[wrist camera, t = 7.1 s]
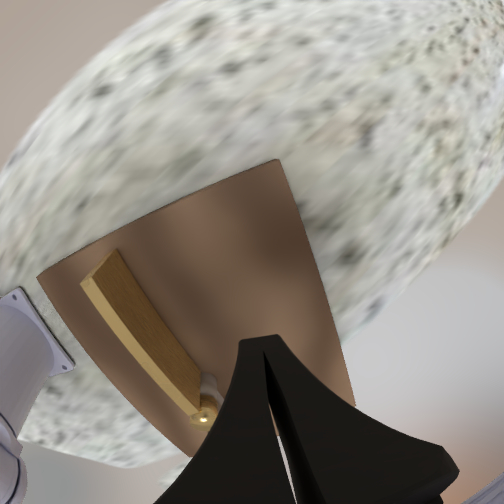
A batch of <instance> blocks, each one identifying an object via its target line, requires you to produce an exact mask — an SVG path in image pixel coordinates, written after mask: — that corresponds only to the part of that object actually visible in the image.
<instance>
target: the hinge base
mask: <svg viewBox="0 0 504 504" xmlns="http://www.w3.org/2000/svg"><path fill="white" fill-rule="evenodd" d="M114 249H117V251H118V253H119V254H120V256H121V258H122V259H123V261H124V262H125V264H126V266H127V267H128V269H129V271H130V272H131V274H132V275H133V277H134V278H135V280H136V282H137V283H138V285H139V286H140V288H141V289H142V291H143V292H144V294H145V295H146V297H147V298H148V300H149V301H150V303H151V304H152V306H153V307H154V309H155V310H156V312H157V313H158V314H159V316H160V317H161V319H162V320H163V322H164V323H165V324H166V326H167V327H168V329H169V330H170V331H171V333H172V334H173V335H174V337H175V338H176V339H177V341H178V342H179V344H180V345H181V346H182V348H183V349H184V350H185V351H186V353H187V354H188V355H189V357H190V358H191V359H192V361H193V362H194V363H195V364H196V366H197V367H198V368H199V369H200V371H201V378H200V395H208V396H211V397H213V398H215V399H216V400H217V403H218V413H219V411H220V409H221V406H222V404H223V401H224V399H225V396H226V394H227V391H228V388H229V386H230V383H231V379H232V376H233V372H234V369H235V365H236V360H237V355H238V342H239V341H240V340H241V339H248V338H254V337H261V336H267V335H274V334H278V335H280V336H281V338H282V339H283V340H284V342H285V343H286V345H287V346H288V347H289V348H290V350H291V351H292V352H293V353H294V354H295V356H296V357H297V358H298V359H299V360H300V361H301V362H302V363H303V364H304V365H305V366H306V367H307V368H308V369H309V370H310V372H311V373H312V374H313V375H315V376H316V377H317V378H318V379H319V380H320V381H321V382H322V383H323V384H324V385H326V386H327V387H328V388H329V389H330V390H331V391H333V392H334V393H335V394H336V395H338V396H339V397H340V398H342V399H343V400H344V401H346V402H347V403H349V404H350V405H352V406H353V407H355V406H356V404H355V400H354V395H353V391H352V387H351V384H350V379H349V375H348V372H347V368H346V364H345V360H344V357H343V353H342V349H341V346H340V342H339V338H338V335H337V331H336V328H335V324H334V321H333V317H332V314H331V311H330V307H329V304H328V301H327V297H326V294H325V291H324V288H323V284H322V281H321V278H320V275H319V272H318V269H317V265H316V262H315V259H314V256H313V253H312V250H311V247H310V244H309V241H308V238H307V235H306V232H305V229H304V226H303V224H302V221H301V218H300V215H299V212H298V209H297V206H296V204H295V201H294V198H293V195H292V193H291V190H290V187H289V184H288V182H287V179H286V176H285V174H284V171H283V168H282V166H281V163H280V161H279V160H278V159H274V160H272V161H269V162H266V163H264V164H261V165H259V166H256V167H254V168H251V169H249V170H246V171H244V172H241V173H239V174H236V175H234V176H231V177H229V178H227V179H224V180H222V181H220V182H217V183H215V184H213V185H210V186H208V187H206V188H203V189H201V190H199V191H197V192H194V193H192V194H190V195H188V196H185V197H183V198H181V199H179V200H177V201H175V202H172V203H170V204H168V205H166V206H164V207H162V208H160V209H158V210H156V211H153V212H151V213H149V214H147V215H145V216H143V217H141V218H139V219H137V220H135V221H133V222H131V223H129V224H127V225H125V226H123V227H121V228H119V229H118V230H116V231H114V232H112V233H110V234H108V235H106V236H104V237H102V238H100V239H99V240H97V241H95V242H93V243H91V244H89V245H88V246H86V247H84V248H82V249H80V250H79V251H77V252H75V253H73V254H72V255H70V256H68V257H66V258H65V259H63V260H61V261H59V262H58V263H56V264H54V265H53V266H51V267H49V268H48V269H46V270H44V271H43V272H42V273H40V274H39V275H38V276H37V277H36V278H37V280H38V281H39V283H40V285H41V287H42V288H43V290H44V292H45V293H46V295H47V296H48V298H49V300H50V301H51V303H52V304H53V306H54V307H55V309H56V310H57V312H58V313H59V315H60V316H61V318H62V319H63V321H64V322H65V324H66V325H67V327H68V328H69V329H70V331H71V332H72V334H73V335H74V336H75V338H76V339H77V340H78V342H79V343H80V344H81V346H82V347H83V348H84V350H85V351H86V352H87V354H88V355H89V356H90V357H91V359H92V360H93V361H94V362H95V364H96V365H97V366H98V367H99V368H100V370H101V371H102V372H103V373H104V374H105V375H106V377H107V378H108V379H109V380H110V381H111V382H112V384H113V385H114V386H115V387H116V388H117V389H118V390H119V391H120V392H121V393H122V395H123V396H124V397H125V398H126V399H127V400H128V401H129V402H130V403H131V404H132V405H133V406H134V407H135V408H136V409H137V410H138V411H139V412H140V413H141V414H142V415H143V416H144V417H145V418H146V419H147V420H148V421H149V422H150V423H151V424H152V425H153V426H154V427H155V428H156V429H157V430H159V431H160V432H161V433H162V434H163V435H164V436H165V437H166V438H167V439H168V440H170V441H171V442H172V443H173V444H174V445H175V446H177V447H178V448H179V449H180V450H181V451H182V452H184V453H185V454H186V455H187V456H189V457H194V455H195V454H196V452H197V451H198V449H199V448H200V446H201V444H202V443H203V441H204V439H205V438H206V436H207V434H208V433H209V431H199V430H196V429H194V428H192V427H191V425H190V415H189V416H188V415H187V414H186V413H185V412H184V411H183V410H182V409H181V408H180V407H179V406H178V405H177V404H176V403H175V402H174V401H173V400H172V399H171V398H170V397H169V396H168V395H167V394H166V392H165V391H164V390H163V389H162V388H161V387H160V386H159V385H158V384H157V383H156V382H155V381H154V380H153V378H152V377H151V376H150V375H149V374H148V373H147V372H146V371H145V369H144V368H143V367H142V366H141V365H140V364H139V362H138V361H137V360H136V359H135V358H134V357H133V355H132V354H131V353H130V352H129V350H128V349H127V348H126V347H125V346H124V344H123V343H122V342H121V341H120V339H119V338H118V337H117V335H116V334H115V333H114V332H113V330H112V329H111V328H110V326H109V325H108V324H107V322H106V321H105V320H104V318H103V317H102V315H101V314H100V313H99V311H98V310H97V309H96V307H95V306H94V304H93V303H92V301H91V300H90V298H89V297H88V296H87V294H86V293H85V291H84V290H83V288H82V287H81V285H80V283H81V282H82V281H83V279H84V278H85V277H86V276H87V275H88V274H89V272H90V271H91V270H92V269H93V268H94V267H95V266H96V265H97V263H98V262H99V261H100V260H101V259H102V258H103V257H104V256H105V255H106V254H107V253H109V252H111V251H113V250H114ZM269 407H270V405H269ZM270 411H271V409H270ZM271 415H272V412H271ZM272 419H273V423H274V427H275V431H276V435H277V436H279V433H278V430H277V427H276V424H275V421H274V418H273V415H272Z"/></svg>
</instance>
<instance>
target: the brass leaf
mask: <svg viewBox="0 0 504 504" xmlns="http://www.w3.org/2000/svg"><path fill="white" fill-rule="evenodd" d="M80 285H81V287H82V288H83V290H84V291H85V293H86V294H87V296H88V297H89V298H90V300H91V301H92V303H93V304H94V306H95V307H96V309H97V310H98V311H99V313H100V314H101V315H102V317H103V318H104V320H105V321H106V322H107V324H108V325H109V326H110V328H111V329H112V330H113V332H114V333H115V334H116V335H117V337H118V338H119V339H120V341H121V342H122V343H123V344H124V346H125V347H126V348H127V349H128V350H129V352H130V353H131V354H132V355H133V357H134V358H135V359H136V360H137V361H138V362H139V364H140V365H141V366H142V367H143V368H144V369H145V371H146V372H147V373H148V374H149V375H150V376H151V377H152V378H153V380H154V381H155V382H156V383H157V384H158V385H159V386H160V387H161V388H162V389H163V390H164V391H165V392H166V394H167V395H168V396H169V397H170V398H171V399H172V400H173V401H174V402H175V403H176V404H177V405H178V406H179V407H180V408H181V409H182V410H183V411H184V412H185V413H186V414H187V415H188V416H189V415H190V425H191V427H192V428H194V429H196V430H199V431H210V429H211V427H212V425H213V423H214V421H215V419H216V417H217V415H218V403H217V400H216V399H215V398H213V397H211V396H208V395H200V378H201V371H200V369H199V368H198V367H197V366H196V364H195V363H194V362H193V361H192V359H191V358H190V357H189V355H188V354H187V353H186V351H185V350H184V349H183V348H182V346H181V345H180V344H179V342H178V341H177V339H176V338H175V337H174V335H173V334H172V333H171V331H170V330H169V329H168V327H167V326H166V324H165V323H164V322H163V320H162V319H161V317H160V316H159V314H158V313H157V312H156V310H155V309H154V307H153V306H152V304H151V303H150V301H149V300H148V298H147V297H146V295H145V294H144V292H143V291H142V289H141V288H140V286H139V285H138V283H137V282H136V280H135V278H134V277H133V275H132V274H131V272H130V271H129V269H128V267H127V266H126V264H125V262H124V261H123V259H122V258H121V256H120V254H119V253H118V251H117V249H114V250H113V251H111V252H109V253H107V254H106V255H105V256H104V257H103V258H102V259H101V260H100V261H99V262H98V263H97V265H96V266H95V267H94V268H93V269H92V270H91V271H90V272H89V274H88V275H87V276H86V277H85V278H84V279H83V281H82V282H81V283H80Z"/></svg>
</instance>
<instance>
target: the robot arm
mask: <svg viewBox="0 0 504 504" xmlns="http://www.w3.org/2000/svg"><path fill="white" fill-rule="evenodd" d="M16 297H17V298H16ZM74 367H75V365H74V363H73V362H72V360H71V359H70V358H69V357H68V355H67V354H66V353H65V352H64V350H63V349H62V348H61V346H60V345H59V344H58V342H57V341H56V340H55V338H54V337H53V336H52V334H51V333H50V331H49V330H48V329H47V327H46V326H45V324H44V323H43V321H42V320H41V318H40V317H39V315H38V314H37V312H36V311H35V309H34V308H33V306H32V305H31V303H30V301H29V300H28V298H27V297H26V295H25V293H24V292H23V290H22V289H21V288H16V289H14V290H13V291H11V292H9V293H8V294H6V295H5V296H3V297H2V298H0V504H22V502H23V500H24V498H25V494H26V491H27V471H26V466H25V463H24V461H23V460H22V458H21V457H20V453H21V451H22V448H23V446H22V445H21V444H20V443H19V442H18V441H17V437H18V435H19V433H20V430H21V428H22V426H23V424H24V422H25V420H26V418H27V416H28V414H29V412H30V410H31V408H32V406H33V404H34V402H35V400H36V398H37V396H38V394H39V392H40V390H41V388H42V386H43V385H44V383H45V381H46V379H47V377H50V376H54V375H57V374H61V373H65V372H68V371H72V370H73V369H74ZM269 405H270V407H269ZM270 409H271V411H270ZM271 412H272V415H273V418H274V421H275V424H276V427H277V430H278V433H279V436H280V439H281V442H282V445H283V448H284V451H285V454H286V457H287V460H288V465H289V469H290V474H291V478H292V483H293V487H294V491H295V496H296V501H297V504H443V500H442V498H441V496H440V494H441V493H442V492H443V491H444V490H445V489H446V488H447V487H448V486H450V484H451V483H453V482H454V480H455V479H456V478H457V477H458V474H459V472H460V471H459V469H458V467H457V466H456V464H455V463H454V461H453V459H452V458H451V456H450V455H449V454H448V453H447V452H446V451H445V449H444V448H443V447H442V446H440V445H437V444H433V443H430V442H427V441H423V440H420V439H417V438H414V437H411V436H409V435H406V434H404V433H401V432H399V431H397V430H394V429H392V428H390V427H388V426H386V425H384V424H382V423H380V422H379V421H377V420H375V419H373V418H371V417H369V416H367V415H366V414H364V413H362V412H361V411H359V410H358V409H356V408H355V407H353V406H352V405H350V404H349V403H347V402H346V401H344V400H343V399H342V398H340V397H339V396H338V395H336V394H335V393H334V392H333V391H331V390H330V389H329V388H328V387H327V386H326V385H324V384H323V383H322V382H321V381H320V380H319V379H318V378H317V377H316V376H315V375H313V374H312V373H311V372H310V370H309V369H308V368H307V367H306V366H305V365H304V364H303V363H302V362H301V361H300V360H299V359H298V358H297V357H296V356H295V354H294V353H293V352H292V351H291V350H290V348H289V347H288V346H287V345H286V343H285V342H284V340H283V339H282V338H281V336H280V335H278V334H274V335H267V336H261V337H254V338H248V339H241V340H240V341H239V342H238V355H237V360H236V365H235V369H234V372H233V376H232V379H231V383H230V386H229V388H228V391H227V394H226V396H225V399H224V401H223V404H222V406H221V409H220V411H219V413H218V415H217V417H216V419H215V421H214V423H213V425H212V427H211V429H210V431H209V433H208V434H207V436H206V438H205V439H204V441H203V443H202V444H201V446H200V448H199V449H198V451H197V452H196V454H195V455H194V457H193V458H192V459H191V461H190V462H189V463H188V465H187V466H186V467H185V469H184V470H183V471H182V473H181V474H180V475H179V476H178V478H177V479H176V480H175V481H174V482H173V484H172V485H171V486H170V487H169V488H168V489H167V490H166V491H165V492H164V493H163V494H162V495H161V496H160V497H159V498H158V499H157V501H155V503H153V504H296V502H295V499H294V495H293V492H292V489H291V485H290V482H289V479H288V475H287V472H286V468H285V465H284V461H283V458H282V454H281V451H280V447H279V443H278V439H277V435H276V431H275V427H274V423H273V419H272V415H271ZM461 504H504V472H503V473H502V474H501V475H500V476H498V477H497V478H496V479H494V480H493V481H492V482H491V483H489V484H488V485H487V486H485V487H484V488H483V489H481V490H480V491H479V492H477V493H476V494H474V495H473V496H472V497H470V498H469V499H467V500H466V501H464V502H463V503H461Z"/></svg>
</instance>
